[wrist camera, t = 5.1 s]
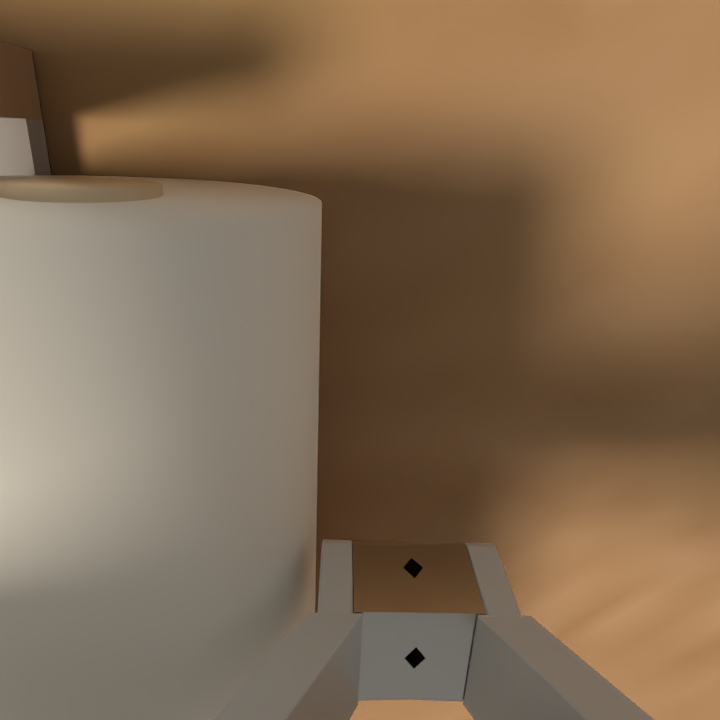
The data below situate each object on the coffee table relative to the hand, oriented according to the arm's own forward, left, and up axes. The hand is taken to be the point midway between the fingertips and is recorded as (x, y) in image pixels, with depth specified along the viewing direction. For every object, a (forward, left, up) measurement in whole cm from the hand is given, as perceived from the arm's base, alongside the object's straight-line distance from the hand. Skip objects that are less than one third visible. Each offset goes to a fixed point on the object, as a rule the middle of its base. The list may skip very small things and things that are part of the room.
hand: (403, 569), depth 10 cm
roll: (+5, 0, -1) cm, 5 cm away
